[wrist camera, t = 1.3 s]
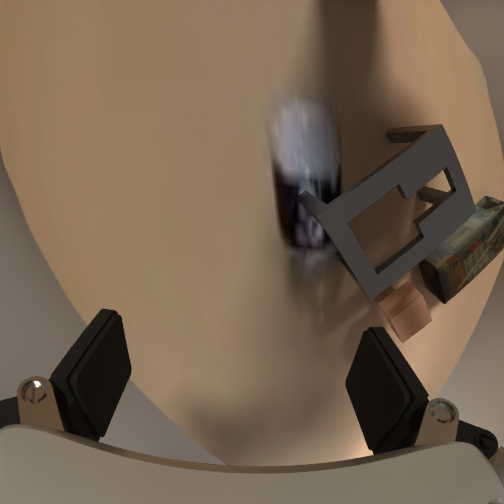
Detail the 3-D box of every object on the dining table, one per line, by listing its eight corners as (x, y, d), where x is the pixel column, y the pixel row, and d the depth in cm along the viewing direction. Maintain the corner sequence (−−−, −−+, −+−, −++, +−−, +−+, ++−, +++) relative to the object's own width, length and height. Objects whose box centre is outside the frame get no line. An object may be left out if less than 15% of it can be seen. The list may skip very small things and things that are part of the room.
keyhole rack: (393, 128, 31) (442, 124, 21) (427, 194, 34) (476, 211, 24) (296, 197, 35) (316, 216, 24) (340, 261, 38) (370, 300, 27)
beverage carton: (493, 230, 37) (516, 242, 30) (424, 290, 40) (444, 309, 34) (485, 193, 34) (510, 201, 28) (411, 253, 38) (434, 270, 32)
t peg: (387, 263, 38) (422, 294, 28) (399, 286, 39) (432, 320, 30) (361, 282, 39) (390, 319, 29) (374, 304, 40) (402, 343, 31)
